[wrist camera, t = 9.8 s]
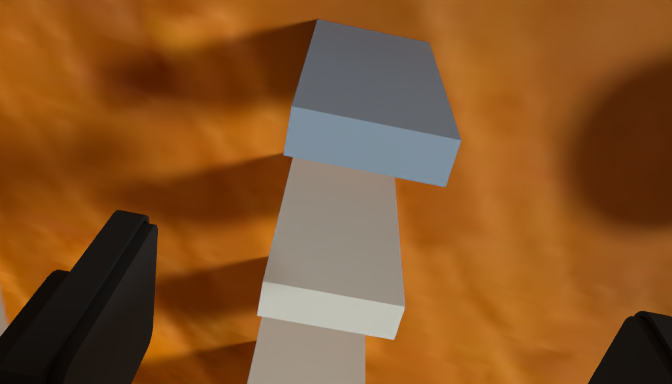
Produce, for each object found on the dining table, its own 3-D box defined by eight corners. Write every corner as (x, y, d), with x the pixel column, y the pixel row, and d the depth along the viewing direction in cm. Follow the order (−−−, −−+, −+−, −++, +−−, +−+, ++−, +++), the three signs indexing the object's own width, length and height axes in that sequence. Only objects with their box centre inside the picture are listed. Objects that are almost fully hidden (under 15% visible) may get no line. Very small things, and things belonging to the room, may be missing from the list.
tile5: (386, 197, 30) (394, 339, 21) (289, 178, 29) (257, 315, 21) (393, 170, 29) (405, 306, 20) (294, 150, 28) (262, 281, 20)
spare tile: (317, 19, 25) (291, 106, 17) (429, 42, 25) (461, 140, 17) (310, 54, 26) (283, 155, 17) (419, 77, 26) (445, 187, 18)
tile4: (359, 293, 33) (356, 450, 24) (272, 277, 33) (238, 431, 24) (365, 271, 32) (364, 426, 23) (276, 255, 32) (242, 405, 23)
